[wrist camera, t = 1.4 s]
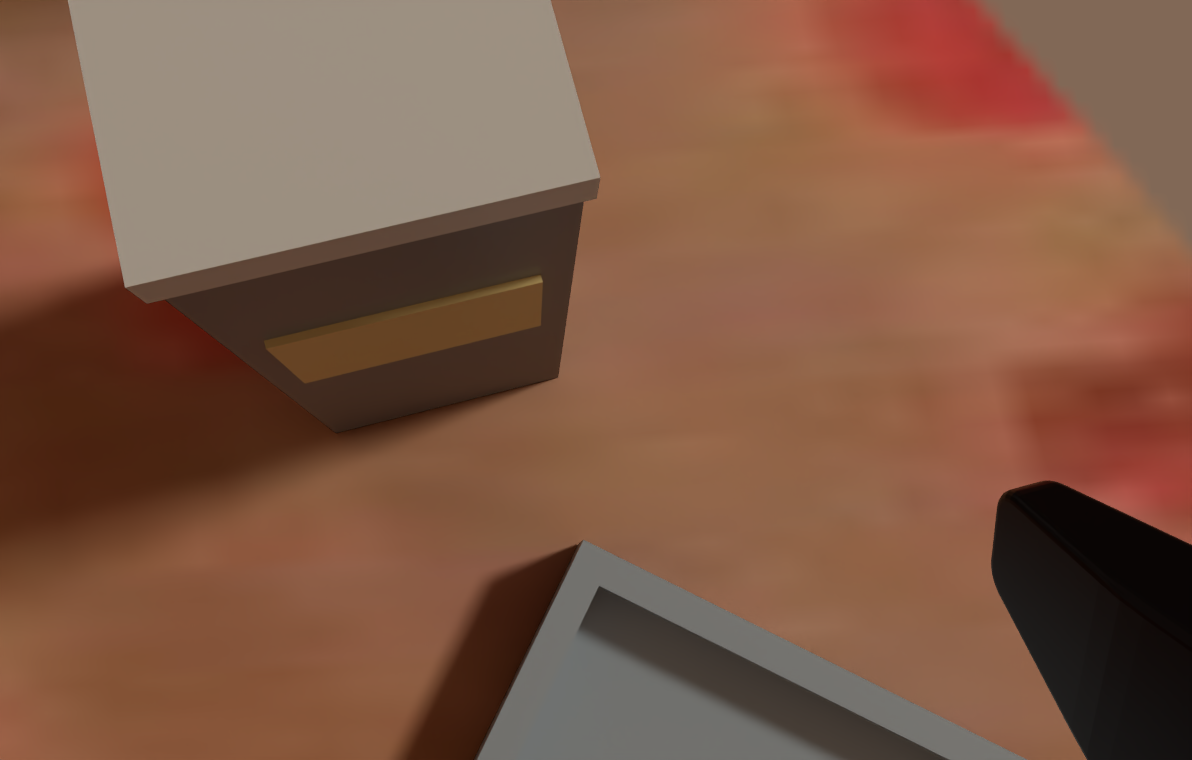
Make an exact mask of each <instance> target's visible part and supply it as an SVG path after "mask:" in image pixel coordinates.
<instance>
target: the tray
mask: <svg viewBox="0 0 1192 760" xmlns="http://www.w3.org/2000/svg"><path fill="white" fill-rule="evenodd" d="M474 760H1026V759H1024V758H1022V757H1020V756H1018V755H1016V754H1014V753H1012V752H1010V751H1008V750H1006V749H1004V748H1002V747H1000V746H998V745H996V744H994V743H992V742H990V741H988V740H986V739H984V738H982V737H980V736H978V735H976V734H974V733H972V732H970V731H968V730H966V729H964V728H962V727H960V726H958V725H956V724H954V723H952V722H950V721H948V720H946V719H944V718H942V717H940V716H938V715H936V714H934V713H932V712H930V711H928V710H926V709H924V708H922V707H920V706H918V705H916V704H914V703H912V702H910V701H908V700H905V699H903V698H901V697H899V696H897V695H895V694H893V693H891V692H889V691H887V690H885V689H883V688H881V687H879V686H877V685H875V684H873V683H871V682H869V681H867V680H865V679H863V678H861V677H859V676H857V675H855V674H853V673H851V672H849V671H847V670H845V669H843V668H841V667H839V666H837V665H835V664H833V663H831V662H829V661H827V660H825V659H823V658H821V657H819V656H817V655H815V654H813V653H811V652H809V651H807V650H805V649H803V648H801V647H799V646H797V645H795V644H793V643H791V642H789V641H787V640H785V639H783V638H780V637H778V636H776V635H774V634H772V633H770V632H768V631H766V630H764V629H762V628H760V627H758V626H756V625H754V624H752V623H750V622H748V621H746V620H744V619H742V618H740V617H738V616H736V615H734V614H732V613H730V612H728V611H726V610H724V609H722V608H720V607H718V606H716V605H714V604H712V603H710V602H708V601H706V600H704V599H702V598H700V597H698V596H696V595H694V594H692V593H690V592H688V591H686V590H684V589H682V588H680V587H678V586H676V585H674V584H672V583H670V582H668V581H666V580H664V579H662V578H660V577H658V576H655V575H653V574H651V573H649V572H647V571H645V570H643V569H641V568H639V567H637V566H635V565H633V564H631V563H629V562H627V561H625V560H623V559H621V558H619V557H617V556H615V555H613V554H611V553H609V552H607V551H605V550H603V549H601V548H599V547H597V546H595V545H593V544H591V543H589V542H587V541H585V540H583V541H581V542H580V543H579V544H578V546H577V548H576V550H575V552H574V554H573V556H572V559H571V561H570V563H569V565H568V567H567V569H566V571H565V573H564V575H563V577H562V579H561V581H560V583H559V585H558V587H557V589H556V592H555V594H554V596H553V598H552V600H551V602H550V604H549V606H548V608H547V610H546V612H545V614H544V616H543V618H542V620H541V622H540V625H539V627H538V629H537V631H536V633H535V635H534V637H533V639H532V641H531V643H530V645H529V647H528V649H527V651H526V653H525V655H524V658H523V660H522V662H521V664H520V666H519V668H518V670H517V672H516V674H515V676H514V678H513V680H512V682H511V684H510V686H509V688H508V690H507V693H506V695H505V697H504V699H503V701H502V703H501V705H500V707H499V709H498V711H497V713H496V715H495V717H494V719H493V721H492V723H491V726H490V728H489V730H488V732H487V734H486V736H485V738H484V740H483V742H482V744H481V746H480V748H479V750H478V752H477V754H476V756H475V759H474Z"/></svg>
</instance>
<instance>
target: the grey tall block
mask: <svg viewBox="0 0 1192 760" xmlns="http://www.w3.org/2000/svg"><path fill="white" fill-rule="evenodd" d="M68 4H69V9H70V14H71V19H72V24H73V29H74V34H75V39H76V44H77V49H78V54H79V59H80V64H81V69H82V74H83V79H84V84H85V89H86V94H87V99H88V104H89V109H90V114H91V119H92V124H93V129H94V134H95V139H96V144H97V149H98V154H99V159H100V165H101V170H102V175H103V180H104V185H105V190H106V195H107V200H108V205H109V210H110V215H111V220H112V225H113V230H114V235H115V240H116V245H117V250H118V255H119V260H120V265H121V270H122V275H123V280H124V285H125V288H126V289H128V290H129V291H130V292H132V293H133V294H134V295H136V296H137V297H138V298H140V299H141V300H143V301H144V302H145V303H147V304H148V303H152V302H156V301H161V300H166V301H167V302H168V303H170V304H171V305H172V306H174V307H175V308H176V309H177V310H179V311H180V312H181V313H183V314H184V315H185V316H186V317H188V318H189V319H190V320H192V321H193V322H194V323H195V324H197V325H198V326H199V327H200V328H202V329H203V330H204V331H206V332H207V333H208V334H209V335H211V336H212V337H213V338H215V339H216V340H217V341H218V342H220V343H221V344H222V345H224V346H225V347H226V348H227V349H229V350H230V351H231V352H233V353H234V354H235V355H236V356H238V357H239V358H240V359H242V360H243V361H244V362H245V363H247V364H248V365H249V366H251V367H252V368H253V369H254V370H256V371H257V372H258V373H259V374H261V375H262V376H263V377H265V378H266V379H267V380H268V381H270V382H271V383H272V384H274V385H275V386H276V387H277V388H279V389H280V390H281V391H283V392H284V393H285V394H286V395H288V396H289V397H290V398H292V399H293V400H294V401H295V402H297V403H298V404H299V405H301V406H302V407H303V408H304V409H306V410H307V411H308V412H309V413H311V414H312V415H313V416H315V417H316V418H317V419H318V420H320V421H321V422H322V423H324V424H325V425H326V426H327V427H329V428H330V429H331V430H333V431H334V432H335V433H338V432H342V431H346V430H350V429H354V428H358V427H362V426H366V425H370V424H374V423H378V422H382V421H386V420H390V419H394V418H398V417H402V416H406V415H410V414H414V413H418V412H422V411H426V410H430V409H434V408H438V407H442V406H446V405H450V404H454V403H458V402H462V401H466V400H470V399H474V398H478V397H482V396H486V395H490V394H494V393H498V392H502V391H506V390H510V389H514V388H518V387H522V386H526V385H530V384H534V383H537V382H541V381H545V380H549V379H553V378H557V377H558V374H559V368H560V361H561V354H562V347H563V340H564V333H565V326H566V319H567V313H568V306H569V299H570V292H571V285H572V278H573V271H574V264H575V257H576V251H577V244H578V237H579V230H580V223H581V216H582V209H583V202H584V201H588V200H593V199H597V193H598V188H599V182H600V174H599V171H598V167H597V164H596V160H595V157H594V153H593V150H592V146H591V143H590V139H589V135H588V132H587V128H586V125H585V121H584V118H583V114H582V111H581V107H580V103H579V100H578V96H577V93H576V89H575V86H574V82H573V79H572V75H571V71H570V68H569V64H568V61H567V57H566V54H565V50H564V47H563V43H562V39H561V36H560V32H559V29H558V25H557V22H556V18H555V15H554V11H553V8H552V4H551V0H68Z"/></svg>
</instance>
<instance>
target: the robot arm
mask: <svg viewBox="0 0 1192 760" xmlns="http://www.w3.org/2000/svg"><path fill="white" fill-rule="evenodd" d="M991 568H992V575H993V579H994V583H995V585H996V588H997V590H998V593H999V595H1000V597H1001V599H1002V600H1003V602H1004V604H1005V606H1006V608H1007V610H1008V612H1009V614H1010V616H1011V618H1012V619H1013V621H1014V623H1015V625H1016V627H1017V629H1018V631H1019V633H1020V635H1021V637H1022V639H1023V640H1024V642H1025V644H1026V646H1027V648H1028V650H1029V652H1030V654H1031V656H1032V658H1033V660H1034V661H1035V663H1036V665H1037V667H1038V669H1039V671H1040V673H1041V675H1042V677H1043V679H1044V680H1045V682H1046V684H1047V686H1048V688H1049V690H1050V692H1051V694H1052V696H1053V698H1054V700H1055V701H1056V703H1057V705H1058V707H1059V709H1060V711H1061V713H1062V715H1063V717H1064V719H1065V720H1066V722H1067V724H1068V726H1069V728H1070V730H1071V732H1072V734H1073V735H1074V737H1075V739H1076V741H1077V743H1078V744H1079V746H1080V748H1081V750H1082V751H1083V753H1084V755H1085V757H1086V758H1087V760H1192V545H1191V544H1189V543H1187V542H1184V541H1182V540H1180V539H1178V538H1176V537H1174V536H1172V535H1170V534H1168V533H1165V532H1163V531H1161V530H1159V529H1157V528H1155V527H1153V526H1151V525H1148V524H1146V523H1144V522H1142V521H1140V520H1138V519H1136V518H1134V517H1131V516H1129V515H1127V514H1125V513H1123V512H1121V511H1119V510H1117V509H1114V508H1112V507H1110V506H1108V505H1106V504H1104V503H1102V502H1100V501H1097V500H1095V499H1093V498H1091V497H1089V496H1087V495H1085V494H1083V493H1080V492H1078V491H1076V490H1074V489H1072V488H1070V487H1068V486H1066V485H1063V484H1061V483H1058V482H1054V481H1041V482H1037V483H1033V484H1030V485H1026V486H1022V487H1019V488H1015V489H1011V490H1008V491H1007V492H1005V493H1003V495H1002V496H1001V498H1000V499H999V501H998V506H997V513H996V522H995V531H994V540H993V550H992V559H991Z"/></svg>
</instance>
